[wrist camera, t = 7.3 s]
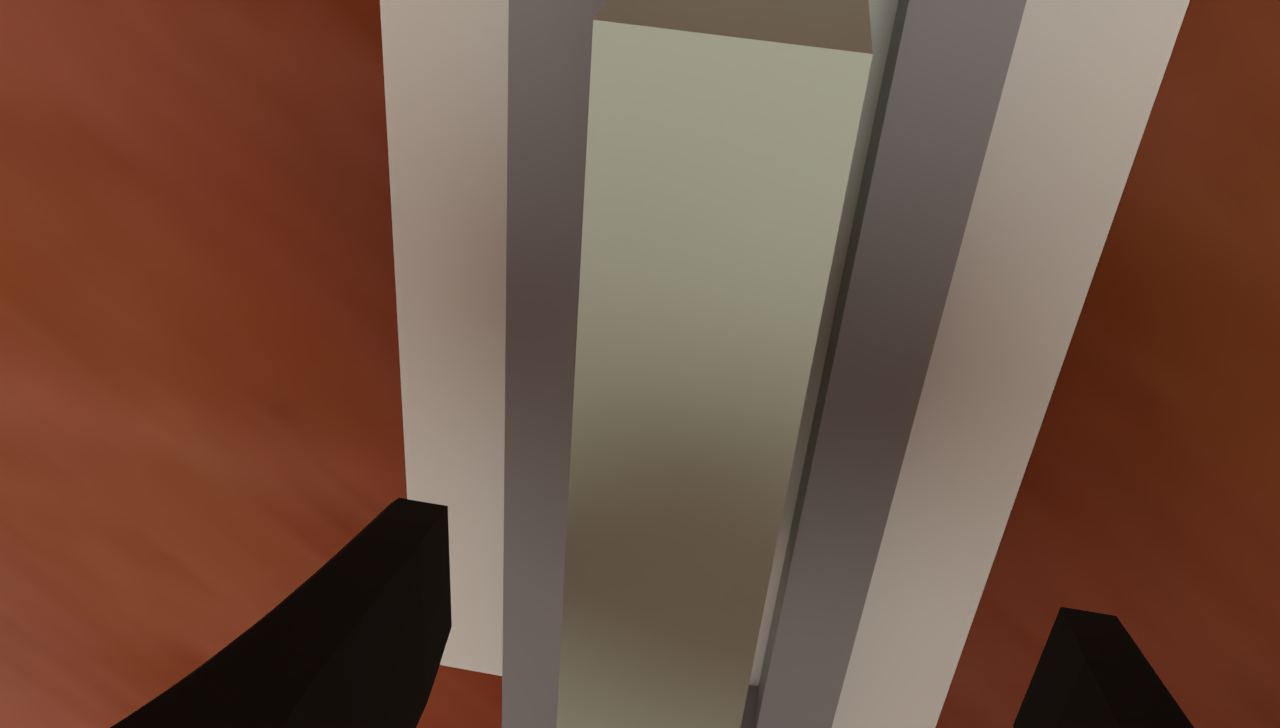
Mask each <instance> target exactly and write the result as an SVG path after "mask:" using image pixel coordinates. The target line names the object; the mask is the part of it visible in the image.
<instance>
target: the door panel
mask: <svg viewBox="0 0 1280 728" xmlns="http://www.w3.org/2000/svg"><path fill="white" fill-rule="evenodd" d="M872 56H873V49H872V37H871V25H870V13H869V1H868V0H608V1H607V2H606V3H605V5H604V6H603V7H602V9H601V10H600V11H599V13H598V14H597V15H596V17H595V18H594V19H593V34H592V53H591V73H590V92H589V111H588V130H587V149H586V169H585V188H584V207H583V226H582V245H581V265H580V284H579V303H578V322H577V341H576V361H575V380H574V399H573V418H572V437H571V457H570V476H569V495H568V514H567V533H566V553H565V572H564V591H563V610H562V629H561V649H560V668H559V687H558V706H557V726H556V728H740V727H741V722H742V717H743V712H744V707H745V702H746V697H747V692H748V687H749V682H750V677H751V671H752V666H753V661H754V656H755V651H756V646H757V641H758V636H759V631H760V626H761V621H762V616H763V610H764V605H765V600H766V595H767V590H768V585H769V580H770V575H771V570H772V565H773V560H774V555H775V549H776V544H777V539H778V534H779V529H780V524H781V519H782V514H783V509H784V504H785V499H786V494H787V488H788V483H789V478H790V473H791V468H792V463H793V458H794V453H795V448H796V443H797V438H798V432H799V427H800V422H801V417H802V412H803V407H804V402H805V397H806V392H807V387H808V382H809V377H810V371H811V366H812V361H813V356H814V351H815V346H816V341H817V336H818V331H819V326H820V321H821V316H822V310H823V305H824V300H825V295H826V290H827V285H828V280H829V275H830V270H831V265H832V260H833V255H834V249H835V244H836V239H837V234H838V229H839V224H840V219H841V214H842V209H843V204H844V199H845V194H846V188H847V183H848V178H849V173H850V168H851V163H852V158H853V153H854V148H855V143H856V138H857V132H858V127H859V122H860V117H861V112H862V107H863V102H864V97H865V92H866V87H867V82H868V77H869V71H870V66H871V61H872Z"/></svg>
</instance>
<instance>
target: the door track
mask: <svg viewBox="0 0 1280 728" xmlns="http://www.w3.org/2000/svg"><path fill="white" fill-rule="evenodd" d="M607 1H608V0H380V12H381V30H382V48H383V66H384V84H385V102H386V121H387V139H388V157H389V175H390V193H391V212H392V230H393V248H394V266H395V284H396V302H397V321H398V339H399V357H400V375H401V393H402V412H403V430H404V448H405V466H406V484H407V499H409V500H415V501H421V502H427V503H433V504H439V505H445V506H448V529H449V560H450V590H451V620H452V627H451V630H450V634H449V637H448V640H447V643H446V646H445V649H444V653H443V656H442V659H441V662H440V665H444V666H449V667H455V668H460V669H466V670H471V671H477V672H482V673H488V674H493V675H499V676H502V728H556V726H557V706H558V687H559V668H560V649H561V629H562V610H563V591H564V572H565V553H566V533H567V514H568V495H569V476H570V457H571V437H572V418H573V399H574V380H575V361H576V341H577V322H578V303H579V284H580V265H581V245H582V226H583V207H584V188H585V169H586V149H587V130H588V111H589V92H590V73H591V53H592V34H593V19H594V18H595V17H596V15H597V14H598V13H599V11H600V10H601V9H602V7H603V6H604V5H605V3H606V2H607ZM868 1H869V13H870V25H871V37H872V49H873V56H872V61H871V66H870V71H869V77H868V82H867V87H866V92H865V97H864V102H863V107H862V112H861V117H860V122H859V127H858V132H857V138H856V143H855V148H854V153H853V158H852V163H851V168H850V173H849V178H848V183H847V188H846V194H845V199H844V204H843V209H842V214H841V219H840V224H839V229H838V234H837V239H836V244H835V249H834V255H833V260H832V265H831V270H830V275H829V280H828V285H827V290H826V295H825V300H824V305H823V310H822V316H821V321H820V326H819V331H818V336H817V341H816V346H815V351H814V356H813V361H812V366H811V371H810V377H809V382H808V387H807V392H806V397H805V402H804V407H803V412H802V417H801V422H800V427H799V432H798V438H797V443H796V448H795V453H794V458H793V463H792V468H791V473H790V478H789V483H788V488H787V494H786V499H785V504H784V509H783V514H782V519H781V524H780V529H779V534H778V539H777V544H776V549H775V555H774V560H773V565H772V570H771V575H770V580H769V585H768V590H767V595H766V600H765V605H764V610H763V616H762V621H761V626H760V631H759V636H758V641H757V646H756V651H755V656H754V661H753V666H752V671H751V677H750V682H749V687H748V692H747V697H746V702H745V707H744V712H743V717H742V722H741V727H740V728H935V727H936V724H937V721H938V718H939V716H940V713H941V710H942V707H943V704H944V701H945V698H946V696H947V693H948V690H949V687H950V684H951V681H952V678H953V676H954V673H955V670H956V667H957V664H958V661H959V658H960V656H961V653H962V650H963V647H964V644H965V641H966V638H967V636H968V633H969V630H970V627H971V624H972V621H973V618H974V616H975V613H976V610H977V607H978V604H979V601H980V598H981V596H982V593H983V590H984V587H985V584H986V581H987V578H988V575H989V573H990V570H991V567H992V564H993V561H994V558H995V555H996V553H997V550H998V547H999V544H1000V541H1001V538H1002V535H1003V533H1004V530H1005V527H1006V524H1007V521H1008V518H1009V515H1010V513H1011V510H1012V507H1013V504H1014V501H1015V498H1016V495H1017V493H1018V490H1019V487H1020V484H1021V481H1022V478H1023V475H1024V473H1025V470H1026V467H1027V464H1028V461H1029V458H1030V455H1031V453H1032V450H1033V447H1034V444H1035V441H1036V438H1037V435H1038V433H1039V430H1040V427H1041V424H1042V421H1043V418H1044V415H1045V413H1046V410H1047V407H1048V404H1049V401H1050V398H1051V395H1052V393H1053V390H1054V387H1055V384H1056V381H1057V378H1058V375H1059V373H1060V370H1061V367H1062V364H1063V361H1064V358H1065V355H1066V353H1067V350H1068V347H1069V344H1070V341H1071V338H1072V335H1073V333H1074V330H1075V327H1076V324H1077V321H1078V318H1079V315H1080V313H1081V310H1082V307H1083V304H1084V301H1085V298H1086V295H1087V293H1088V290H1089V287H1090V284H1091V281H1092V278H1093V275H1094V273H1095V270H1096V267H1097V264H1098V261H1099V258H1100V255H1101V253H1102V250H1103V247H1104V244H1105V241H1106V238H1107V235H1108V233H1109V230H1110V227H1111V224H1112V221H1113V218H1114V215H1115V213H1116V210H1117V207H1118V204H1119V201H1120V198H1121V195H1122V192H1123V190H1124V187H1125V184H1126V181H1127V178H1128V175H1129V172H1130V170H1131V167H1132V164H1133V161H1134V158H1135V155H1136V152H1137V150H1138V147H1139V144H1140V141H1141V138H1142V135H1143V132H1144V130H1145V127H1146V124H1147V121H1148V118H1149V115H1150V112H1151V110H1152V107H1153V104H1154V101H1155V98H1156V95H1157V92H1158V90H1159V87H1160V84H1161V81H1162V78H1163V75H1164V72H1165V70H1166V67H1167V64H1168V61H1169V58H1170V55H1171V52H1172V50H1173V47H1174V44H1175V41H1176V38H1177V35H1178V32H1179V30H1180V27H1181V24H1182V21H1183V18H1184V15H1185V12H1186V10H1187V7H1188V4H1189V1H1190V0H868Z"/></svg>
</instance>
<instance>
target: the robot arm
mask: <svg viewBox="0 0 1280 728" xmlns="http://www.w3.org/2000/svg"><path fill="white" fill-rule="evenodd" d="M451 627H452V620H451V590H450V560H449V529H448V506H445V505H439V504H433V503H427V502H421V501H415V500H409V499H403V498H398V499H397V500H395V501H394V502H392V503H391V504H390V505H389V506H388V507H387V508H385V509H384V510H383V511H382V512H381V513H380V514H379V515H378V516H377V517H376V518H375V519H374V520H373V521H372V522H371V523H369V524H368V525H367V526H366V527H365V528H364V529H363V530H362V531H361V532H360V533H359V534H358V535H357V536H356V537H354V538H353V539H352V540H351V541H350V542H349V543H348V544H347V545H346V546H345V547H344V548H343V549H341V550H340V551H339V552H338V553H337V554H336V555H335V556H334V557H333V558H332V559H330V560H329V561H328V562H327V563H326V564H325V565H324V566H323V567H322V568H320V569H319V570H318V571H317V572H316V573H315V574H314V575H313V576H311V577H310V578H309V579H308V580H307V581H306V582H304V583H303V584H302V585H301V586H300V587H299V588H297V589H296V590H295V591H294V592H293V593H292V594H290V595H289V596H288V597H287V598H286V599H285V600H283V601H282V602H281V603H280V604H279V605H278V606H276V607H275V608H274V609H273V610H272V611H271V612H269V613H268V614H267V615H266V616H264V617H263V618H262V619H261V620H260V621H258V622H257V623H256V624H254V625H253V626H252V627H251V628H249V629H248V630H247V631H246V632H244V633H243V634H242V635H240V636H239V637H238V638H237V639H235V640H234V641H233V642H231V643H230V644H229V645H228V646H226V647H225V648H224V649H222V650H221V651H220V652H219V653H217V654H216V655H215V656H213V657H212V658H211V659H210V660H208V661H207V662H206V663H204V664H203V665H202V666H200V667H199V668H197V669H196V670H195V671H193V672H192V673H191V674H189V675H188V676H186V677H185V678H184V679H182V680H181V681H179V682H178V683H177V684H175V685H174V686H172V687H171V688H169V689H168V690H167V691H165V692H164V693H162V694H161V695H159V696H158V697H156V698H155V699H153V700H152V701H150V702H149V703H147V704H146V705H144V706H143V707H141V708H140V709H138V710H137V711H135V712H134V713H132V714H131V715H129V716H128V717H126V718H125V719H123V720H122V721H120V722H118V723H117V724H115V725H113V726H112V727H110V728H416V726H417V724H418V722H419V719H420V717H421V715H422V713H423V711H424V708H425V706H426V704H427V701H428V698H429V695H430V692H431V689H432V686H433V683H434V680H435V677H436V674H437V671H438V668H439V665H440V662H441V659H442V656H443V653H444V649H445V646H446V643H447V640H448V637H449V634H450V630H451ZM1013 727H1014V728H1194V727H1193V725H1192V724H1191V723H1190V721H1189V720H1188V718H1187V717H1186V716H1185V714H1184V713H1183V711H1182V710H1181V708H1180V707H1179V706H1178V704H1177V703H1176V701H1175V700H1174V698H1173V697H1172V696H1171V694H1170V693H1169V691H1168V690H1167V688H1166V687H1165V686H1164V684H1163V683H1162V681H1161V680H1160V678H1159V677H1158V675H1157V674H1156V673H1155V671H1154V670H1153V668H1152V667H1151V665H1150V664H1149V662H1148V661H1147V659H1146V658H1145V657H1144V655H1143V654H1142V652H1141V651H1140V649H1139V648H1138V646H1137V645H1136V644H1135V642H1134V641H1133V639H1132V638H1131V636H1130V635H1129V634H1128V632H1127V631H1126V629H1125V628H1124V627H1123V625H1122V624H1121V622H1120V621H1119V619H1118V618H1117V617H1116V616H1112V615H1106V614H1100V613H1094V612H1088V611H1082V610H1076V609H1070V608H1064V607H1061V608H1060V610H1059V613H1058V615H1057V618H1056V620H1055V623H1054V625H1053V628H1052V630H1051V633H1050V635H1049V638H1048V640H1047V643H1046V645H1045V648H1044V650H1043V653H1042V655H1041V658H1040V660H1039V663H1038V665H1037V668H1036V670H1035V673H1034V675H1033V678H1032V680H1031V683H1030V685H1029V688H1028V690H1027V693H1026V695H1025V698H1024V700H1023V703H1022V705H1021V708H1020V710H1019V713H1018V715H1017V718H1016V720H1015V723H1014V725H1013Z"/></svg>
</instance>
